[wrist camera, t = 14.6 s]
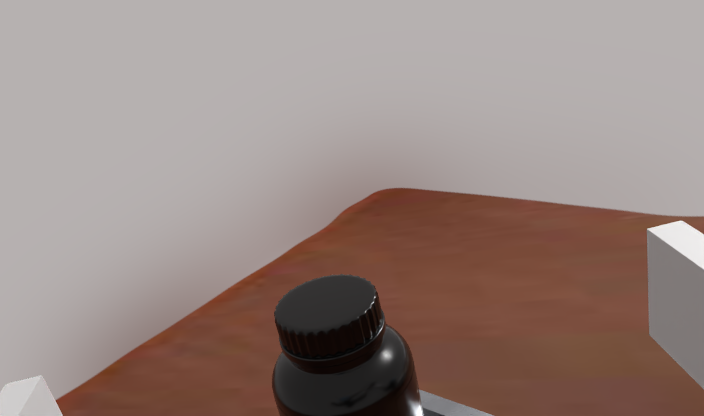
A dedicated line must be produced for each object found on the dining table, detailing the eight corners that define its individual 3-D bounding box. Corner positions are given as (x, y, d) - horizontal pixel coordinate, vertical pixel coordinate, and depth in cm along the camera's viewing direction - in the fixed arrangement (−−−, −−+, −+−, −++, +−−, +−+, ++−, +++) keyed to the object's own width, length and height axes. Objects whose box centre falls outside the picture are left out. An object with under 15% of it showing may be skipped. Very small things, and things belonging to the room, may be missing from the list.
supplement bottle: (337, 437, 36) (293, 260, 31) (449, 453, 33) (419, 262, 29) (285, 538, 30) (223, 339, 26) (417, 567, 27) (373, 351, 23)
